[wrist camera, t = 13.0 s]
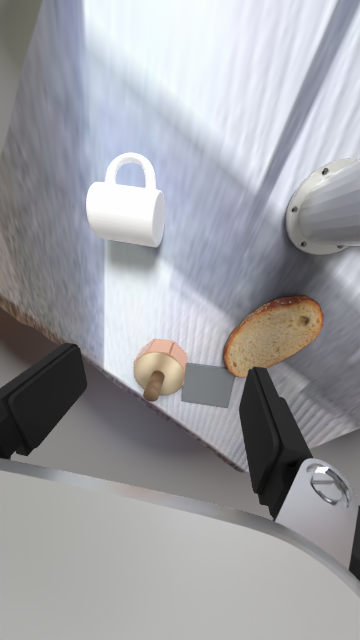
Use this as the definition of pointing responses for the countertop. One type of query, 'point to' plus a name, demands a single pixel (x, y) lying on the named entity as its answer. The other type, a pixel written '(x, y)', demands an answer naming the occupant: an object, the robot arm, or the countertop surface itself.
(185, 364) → the bowl
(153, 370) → the lid
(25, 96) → the countertop surface
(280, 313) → the bread slice
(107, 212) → the mug
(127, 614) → the robot arm
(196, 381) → the mat
